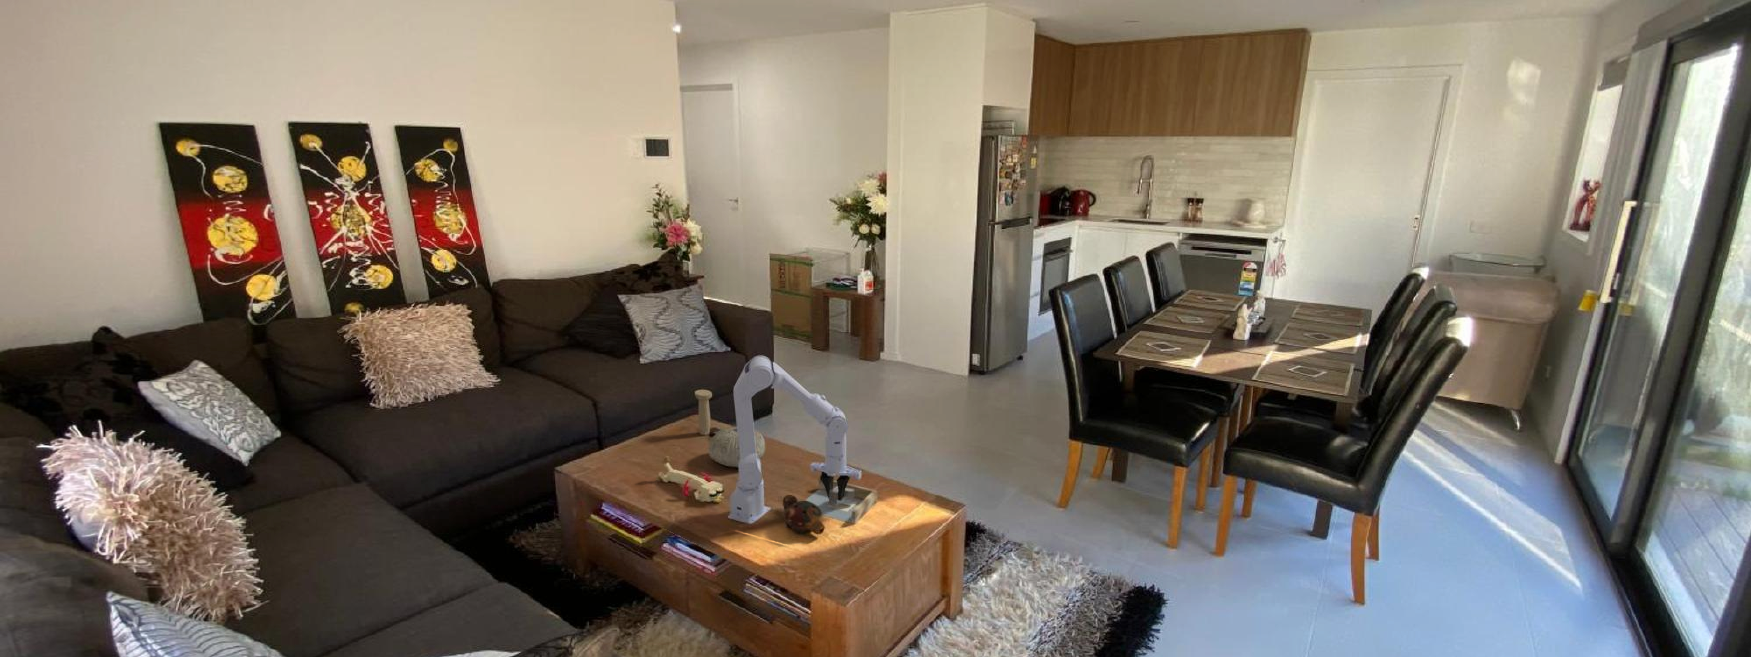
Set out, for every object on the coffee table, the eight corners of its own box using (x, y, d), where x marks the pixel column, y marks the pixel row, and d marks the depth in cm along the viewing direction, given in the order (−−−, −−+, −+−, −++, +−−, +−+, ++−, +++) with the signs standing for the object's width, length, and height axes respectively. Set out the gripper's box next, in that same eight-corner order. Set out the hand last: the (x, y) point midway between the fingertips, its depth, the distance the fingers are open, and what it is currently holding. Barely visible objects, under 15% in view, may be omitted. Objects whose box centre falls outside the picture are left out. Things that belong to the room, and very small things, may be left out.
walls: (855, 525, 203) (855, 512, 202) (795, 509, 211) (795, 496, 209) (877, 503, 215) (877, 490, 214) (820, 489, 223) (820, 476, 222)
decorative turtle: (794, 513, 209) (796, 486, 207) (835, 535, 200) (837, 508, 198) (768, 525, 201) (770, 498, 199) (809, 548, 193) (812, 520, 190)
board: (851, 524, 203) (851, 523, 203) (795, 509, 211) (795, 508, 210) (872, 504, 215) (872, 502, 214) (818, 490, 222) (818, 489, 222)
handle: (704, 438, 256) (702, 396, 252) (693, 432, 260) (691, 391, 256) (716, 434, 259) (714, 393, 256) (705, 429, 264) (704, 388, 260)
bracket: (835, 499, 216) (836, 486, 215) (853, 503, 214) (854, 489, 214) (828, 505, 210) (829, 491, 210) (846, 508, 209) (847, 494, 208)
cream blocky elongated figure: (652, 488, 224) (707, 508, 209) (648, 460, 222) (704, 479, 207) (679, 476, 232) (734, 495, 217) (676, 450, 230) (731, 467, 215)
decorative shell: (698, 467, 235) (696, 437, 232) (725, 445, 251) (724, 417, 249) (750, 476, 230) (749, 446, 227) (774, 453, 246) (774, 424, 244)
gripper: (805, 454, 207) (806, 499, 210) (855, 463, 202) (854, 509, 206) (816, 444, 213) (816, 488, 217) (864, 453, 209) (863, 497, 212)
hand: (835, 498), depth 212 cm, fingers closed on bracket, 2 cm apart
